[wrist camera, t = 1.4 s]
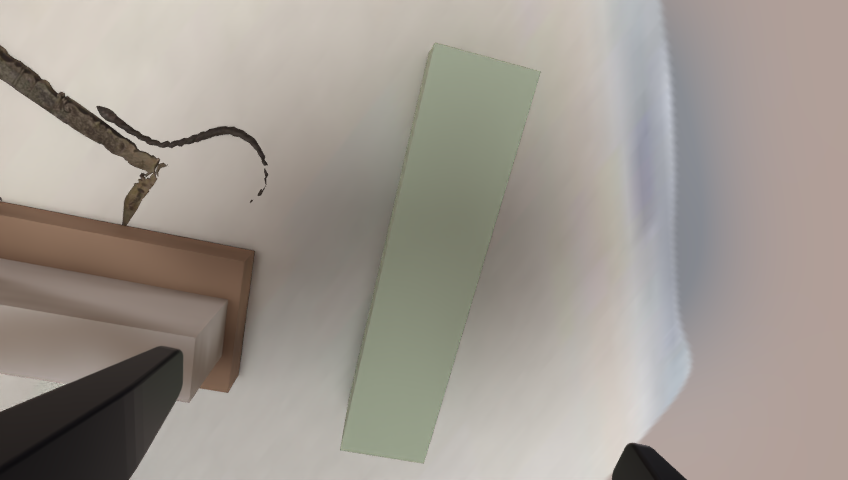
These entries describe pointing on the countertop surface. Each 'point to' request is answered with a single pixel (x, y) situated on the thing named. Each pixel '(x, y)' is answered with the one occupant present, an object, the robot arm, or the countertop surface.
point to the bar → (435, 247)
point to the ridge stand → (116, 299)
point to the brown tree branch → (104, 128)
